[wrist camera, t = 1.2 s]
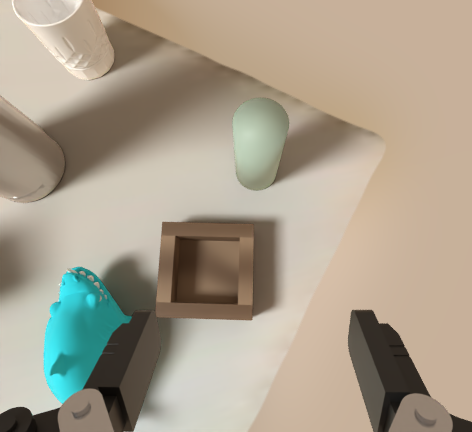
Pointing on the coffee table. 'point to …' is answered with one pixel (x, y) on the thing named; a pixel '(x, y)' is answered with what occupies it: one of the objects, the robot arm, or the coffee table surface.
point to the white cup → (69, 34)
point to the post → (259, 141)
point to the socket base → (205, 271)
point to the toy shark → (78, 331)
